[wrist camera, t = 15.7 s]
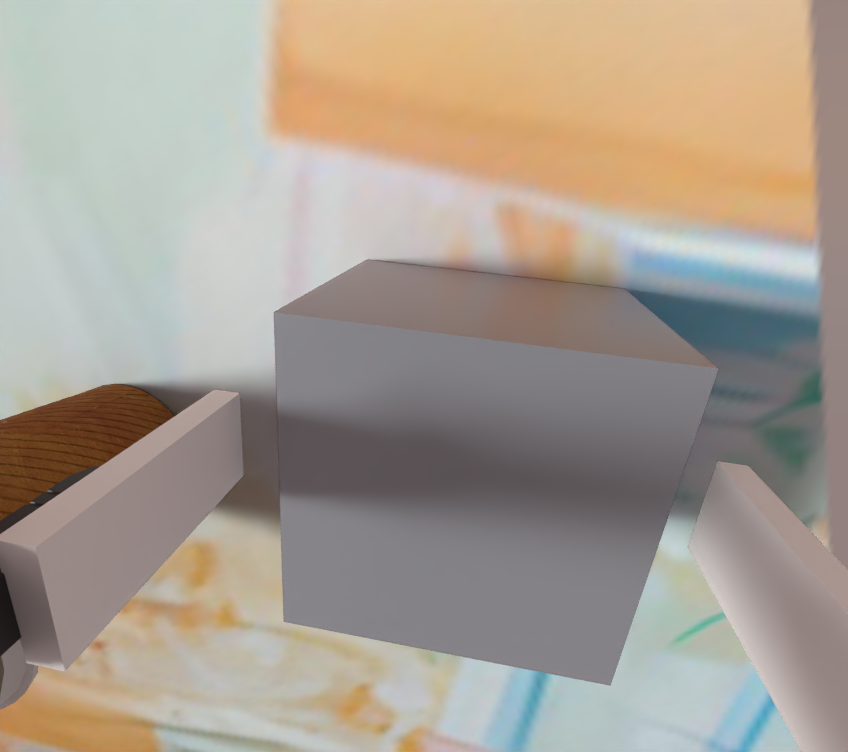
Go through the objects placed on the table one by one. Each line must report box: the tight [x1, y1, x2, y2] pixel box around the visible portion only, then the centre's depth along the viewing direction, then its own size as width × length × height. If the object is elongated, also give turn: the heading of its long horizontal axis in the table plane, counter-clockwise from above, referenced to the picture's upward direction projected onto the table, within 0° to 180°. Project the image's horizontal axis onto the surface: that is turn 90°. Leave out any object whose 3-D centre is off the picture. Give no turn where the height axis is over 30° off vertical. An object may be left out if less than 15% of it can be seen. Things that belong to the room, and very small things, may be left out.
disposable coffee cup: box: [0, 384, 174, 709], centre depth 19 cm, size 10×10×12 cm
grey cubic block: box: [274, 260, 719, 685], centre depth 17 cm, size 10×10×9 cm
